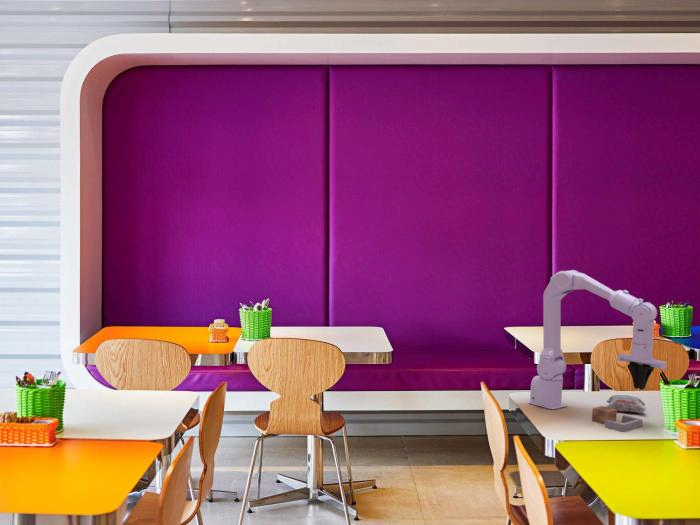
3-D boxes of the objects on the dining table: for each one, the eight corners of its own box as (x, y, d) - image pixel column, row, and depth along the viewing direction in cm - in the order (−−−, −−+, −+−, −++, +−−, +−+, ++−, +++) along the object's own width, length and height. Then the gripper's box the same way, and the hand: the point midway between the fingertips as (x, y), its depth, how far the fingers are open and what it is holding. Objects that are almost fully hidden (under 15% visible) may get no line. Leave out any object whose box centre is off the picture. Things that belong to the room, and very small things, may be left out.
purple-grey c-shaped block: (604, 426, 223) (605, 420, 223) (623, 421, 230) (624, 415, 230) (623, 431, 218) (623, 425, 218) (642, 426, 225) (642, 419, 225)
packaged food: (645, 417, 237) (646, 401, 236) (605, 412, 240) (606, 396, 240) (644, 410, 245) (645, 395, 244) (605, 406, 249) (606, 391, 248)
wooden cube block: (591, 421, 229) (592, 408, 229) (601, 418, 233) (602, 405, 232) (606, 425, 226) (607, 411, 225) (616, 422, 229) (616, 409, 228)
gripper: (672, 346, 224) (669, 391, 225) (627, 338, 235) (624, 382, 236) (660, 348, 220) (657, 394, 221) (614, 340, 231) (611, 384, 232)
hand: (639, 388), depth 228 cm, fingers closed
